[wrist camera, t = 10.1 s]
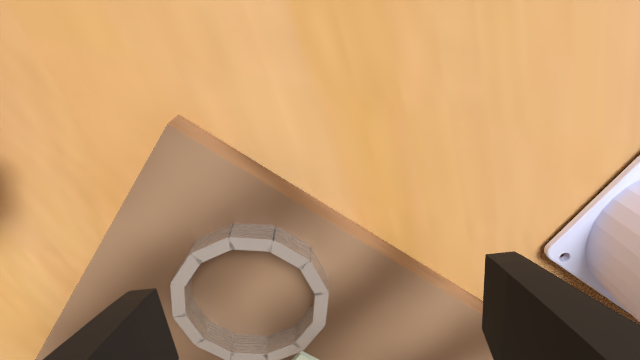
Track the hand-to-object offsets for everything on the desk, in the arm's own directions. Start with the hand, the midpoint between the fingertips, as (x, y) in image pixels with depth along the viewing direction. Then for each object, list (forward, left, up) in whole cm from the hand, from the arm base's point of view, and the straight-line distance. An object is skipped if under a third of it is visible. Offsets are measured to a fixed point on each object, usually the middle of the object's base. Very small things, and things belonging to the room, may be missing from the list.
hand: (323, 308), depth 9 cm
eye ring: (-1, +7, -9) cm, 11 cm away
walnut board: (-5, +10, -10) cm, 15 cm away
